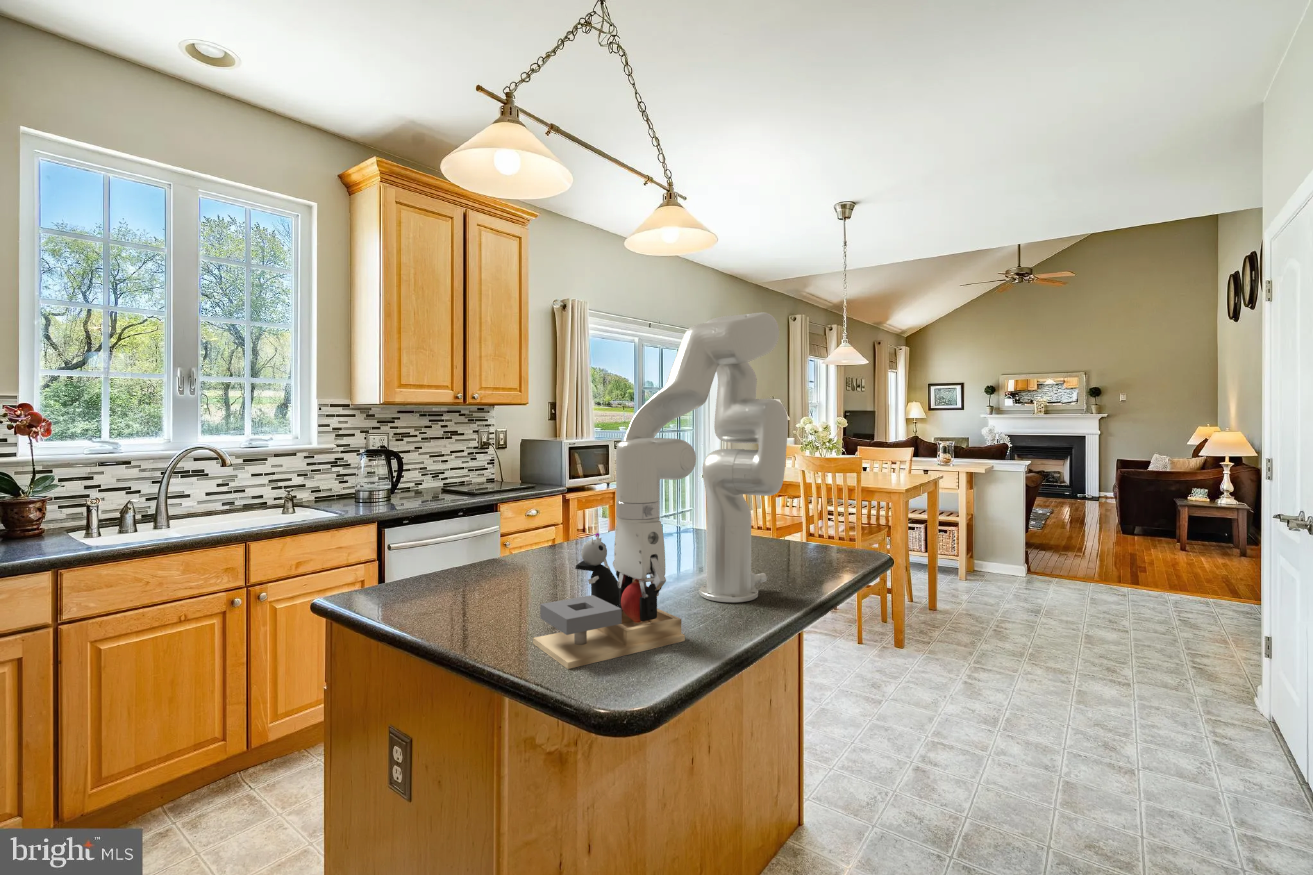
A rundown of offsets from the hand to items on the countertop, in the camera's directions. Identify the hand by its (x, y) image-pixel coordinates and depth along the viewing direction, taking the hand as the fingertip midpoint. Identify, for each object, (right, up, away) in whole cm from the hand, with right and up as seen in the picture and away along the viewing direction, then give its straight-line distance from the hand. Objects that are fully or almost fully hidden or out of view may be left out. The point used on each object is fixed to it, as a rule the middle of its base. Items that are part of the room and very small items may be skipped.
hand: (637, 613), depth 108 cm
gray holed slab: (-9, +1, -6) cm, 11 cm away
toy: (-8, -4, +15) cm, 18 cm away
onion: (0, -2, 0) cm, 2 cm away
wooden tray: (-5, -4, -3) cm, 7 cm away
